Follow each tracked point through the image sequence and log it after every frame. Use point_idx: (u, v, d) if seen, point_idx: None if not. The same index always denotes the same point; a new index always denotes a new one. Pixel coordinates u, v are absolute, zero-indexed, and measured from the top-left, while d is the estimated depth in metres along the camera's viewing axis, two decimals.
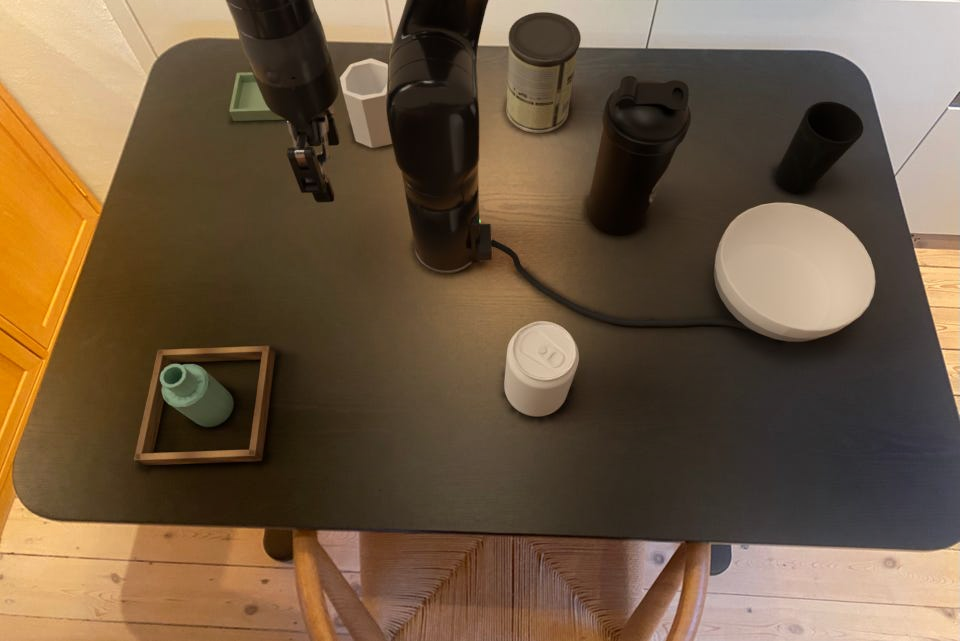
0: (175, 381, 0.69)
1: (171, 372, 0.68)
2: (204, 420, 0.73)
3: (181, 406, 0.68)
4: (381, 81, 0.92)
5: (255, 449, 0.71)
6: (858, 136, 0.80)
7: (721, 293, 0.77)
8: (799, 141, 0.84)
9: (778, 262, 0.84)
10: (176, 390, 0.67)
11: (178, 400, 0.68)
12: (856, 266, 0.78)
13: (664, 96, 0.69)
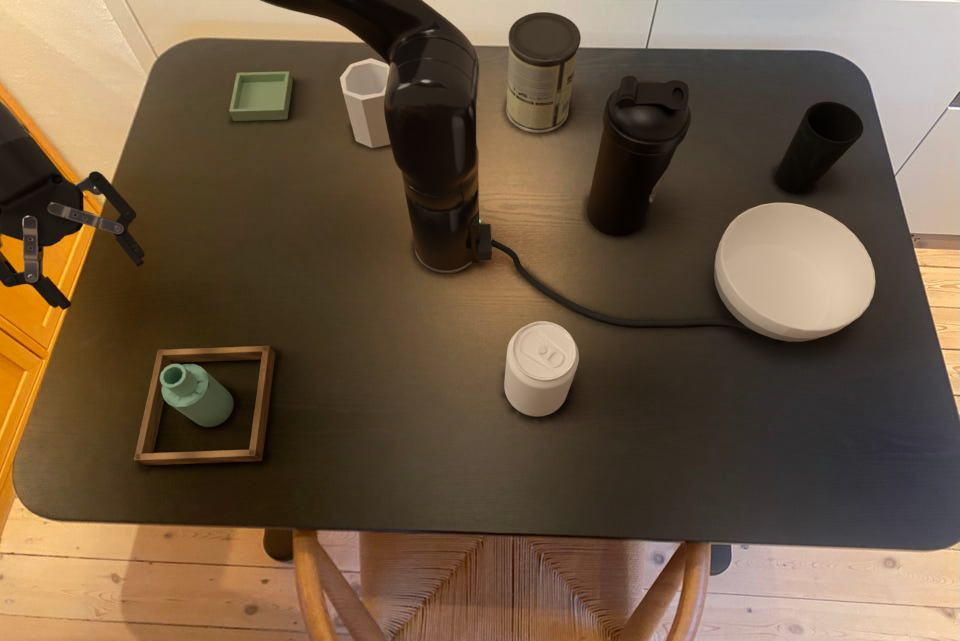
0: (175, 381, 0.69)
1: (171, 372, 0.68)
2: (204, 420, 0.73)
3: (181, 406, 0.68)
4: (381, 81, 0.92)
5: (255, 449, 0.71)
6: (858, 136, 0.80)
7: (721, 293, 0.77)
8: (799, 141, 0.84)
9: (778, 262, 0.84)
10: (176, 390, 0.67)
11: (178, 400, 0.68)
12: (856, 266, 0.78)
13: (664, 96, 0.69)
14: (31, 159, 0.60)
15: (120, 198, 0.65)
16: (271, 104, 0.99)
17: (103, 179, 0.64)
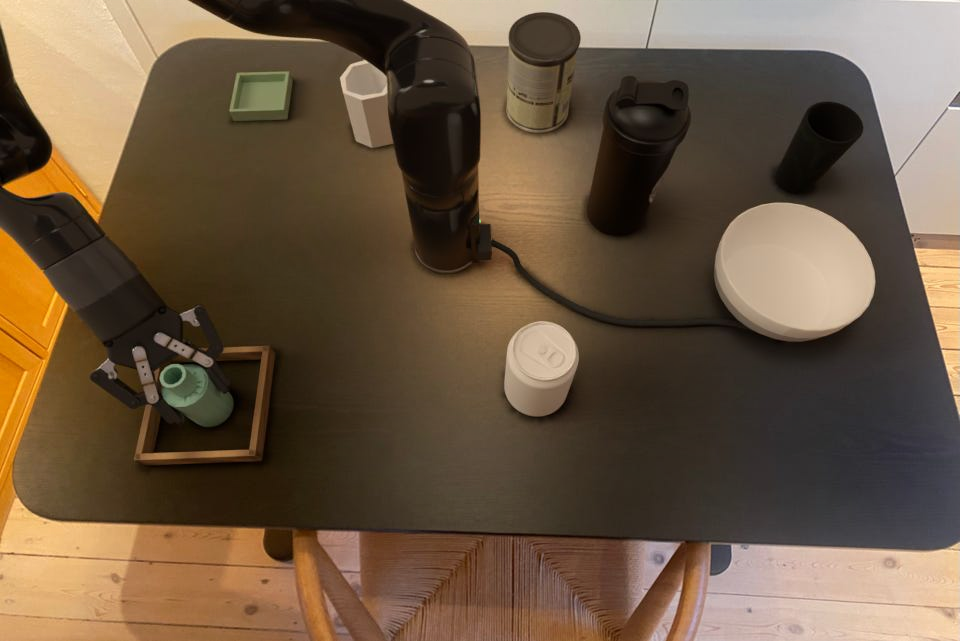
0: (175, 381, 0.69)
1: (171, 372, 0.68)
2: (204, 420, 0.73)
3: (181, 406, 0.68)
4: (381, 81, 0.92)
5: (255, 449, 0.71)
6: (858, 136, 0.80)
7: (721, 293, 0.77)
8: (799, 141, 0.84)
9: (778, 262, 0.84)
10: (176, 390, 0.67)
11: (178, 400, 0.68)
12: (856, 266, 0.78)
13: (664, 96, 0.69)
14: (142, 296, 0.64)
15: (215, 333, 0.70)
16: (271, 104, 0.99)
17: (206, 314, 0.69)
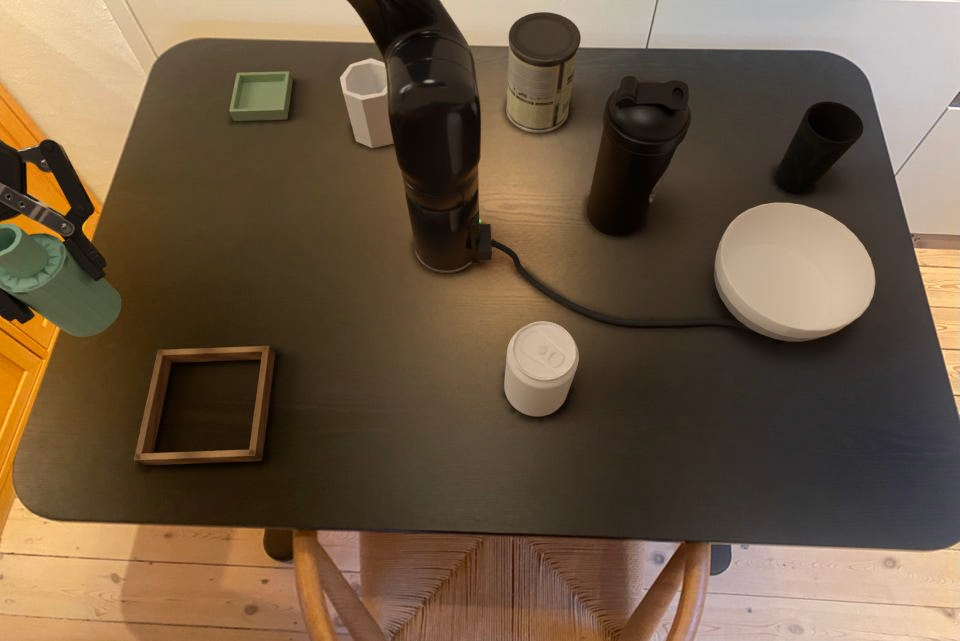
0: None
1: (2, 238, 0.44)
2: (70, 323, 0.49)
3: (19, 291, 0.44)
4: (381, 81, 0.92)
5: (255, 449, 0.71)
6: (858, 136, 0.80)
7: (721, 293, 0.77)
8: (799, 141, 0.84)
9: (778, 262, 0.84)
10: (7, 263, 0.43)
11: (16, 283, 0.45)
12: (856, 266, 0.78)
13: (664, 96, 0.69)
14: None
15: (76, 184, 0.46)
16: (271, 104, 0.99)
17: (59, 153, 0.45)
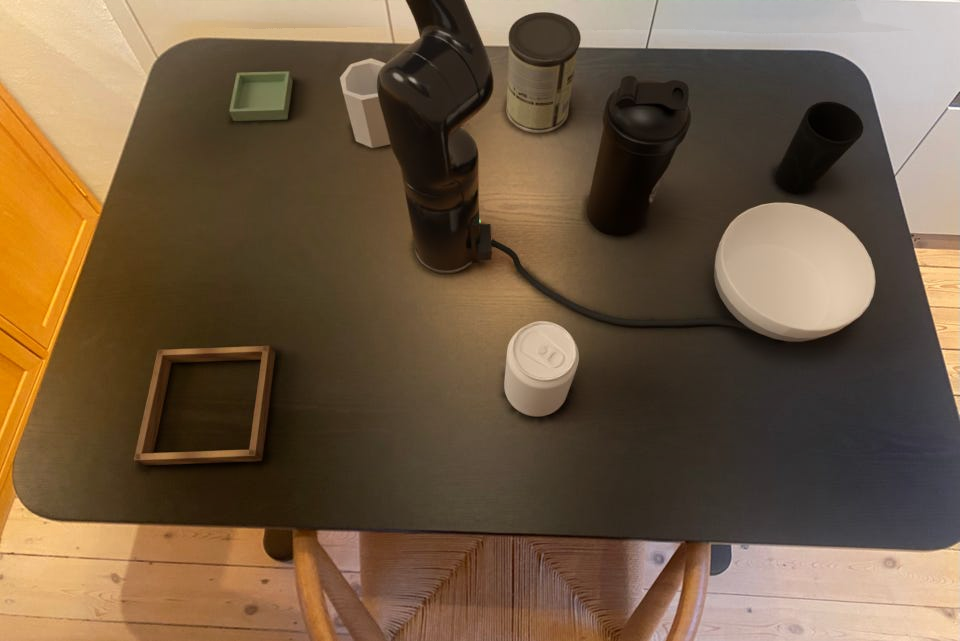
0: None
1: None
2: None
3: None
4: None
5: (255, 449, 0.71)
6: (858, 136, 0.80)
7: (721, 293, 0.77)
8: (799, 141, 0.84)
9: (778, 262, 0.84)
10: None
11: None
12: (856, 266, 0.78)
13: (664, 96, 0.69)
14: None
15: None
16: (271, 104, 0.99)
17: None
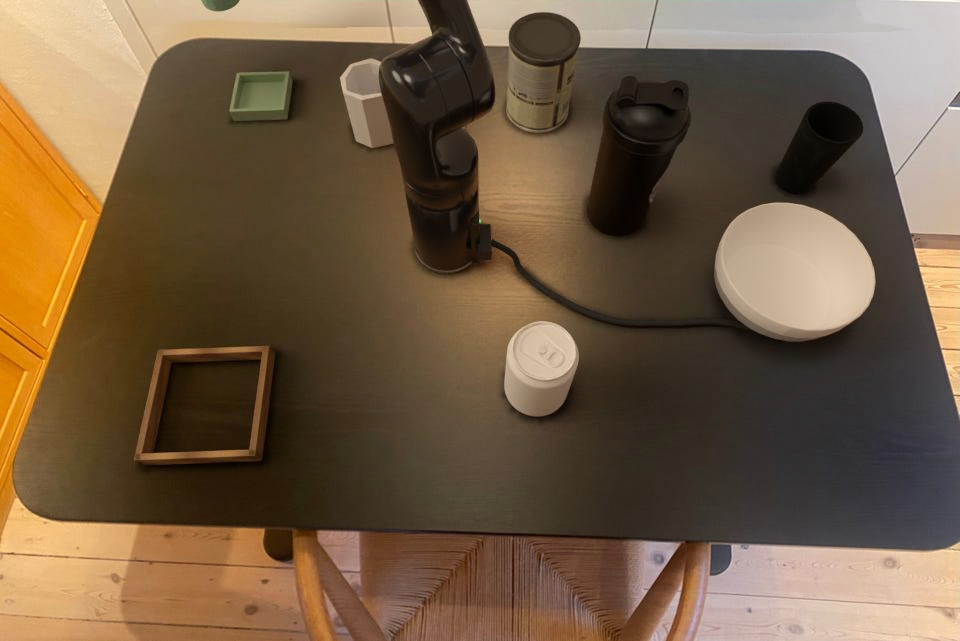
0: None
1: None
2: None
3: None
4: None
5: (255, 449, 0.71)
6: (858, 136, 0.80)
7: (721, 293, 0.77)
8: (799, 141, 0.84)
9: (778, 262, 0.84)
10: None
11: None
12: (856, 266, 0.78)
13: (664, 96, 0.69)
14: None
15: None
16: (271, 104, 0.99)
17: None
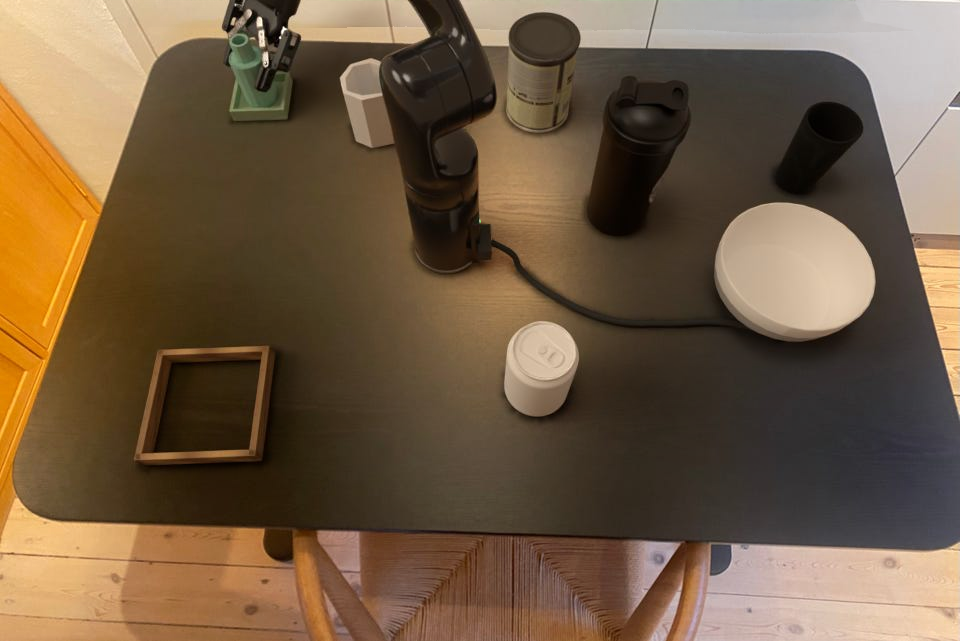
0: None
1: (245, 41, 0.91)
2: (241, 88, 0.97)
3: (229, 59, 0.92)
4: None
5: (255, 449, 0.71)
6: (858, 136, 0.80)
7: (721, 293, 0.77)
8: (799, 141, 0.84)
9: (778, 262, 0.84)
10: (231, 47, 0.90)
11: (233, 56, 0.92)
12: (856, 266, 0.78)
13: (664, 96, 0.69)
14: None
15: (280, 54, 0.89)
16: None
17: (286, 39, 0.88)
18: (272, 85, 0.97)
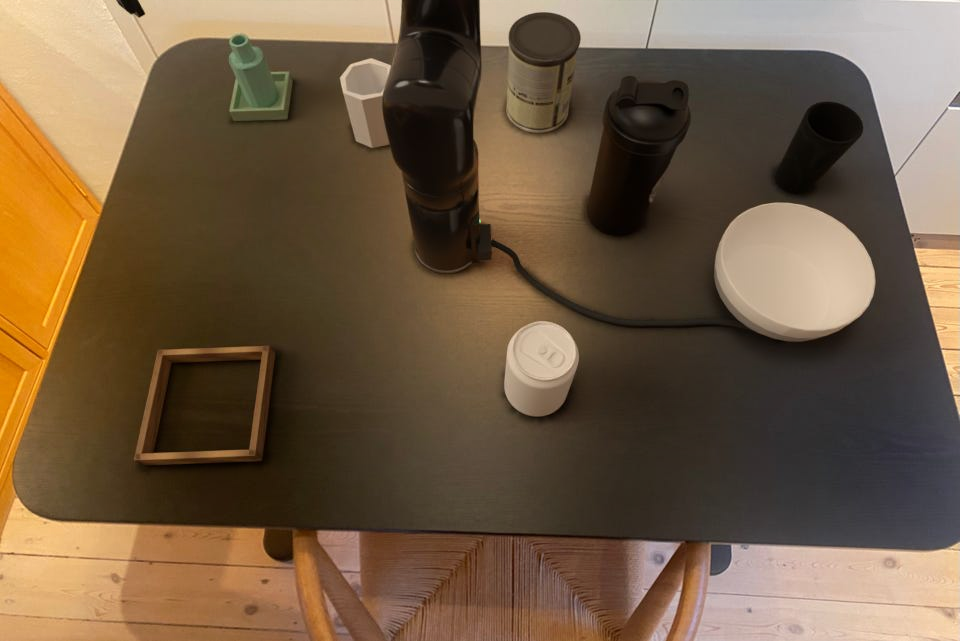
0: None
1: (245, 41, 0.91)
2: (241, 88, 0.97)
3: (229, 59, 0.92)
4: (381, 81, 0.92)
5: (255, 449, 0.71)
6: (858, 136, 0.80)
7: (721, 293, 0.77)
8: (799, 141, 0.84)
9: (778, 262, 0.84)
10: (231, 47, 0.90)
11: (233, 56, 0.92)
12: (856, 266, 0.78)
13: (664, 96, 0.69)
14: None
15: None
16: None
17: None
18: (272, 85, 0.97)
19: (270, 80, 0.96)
